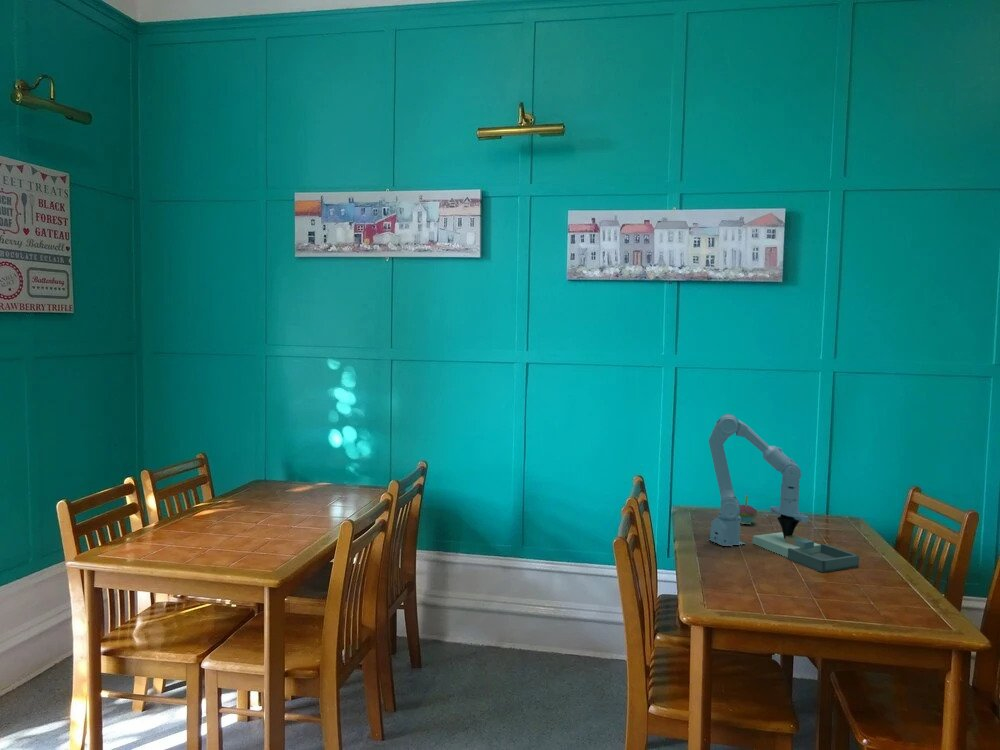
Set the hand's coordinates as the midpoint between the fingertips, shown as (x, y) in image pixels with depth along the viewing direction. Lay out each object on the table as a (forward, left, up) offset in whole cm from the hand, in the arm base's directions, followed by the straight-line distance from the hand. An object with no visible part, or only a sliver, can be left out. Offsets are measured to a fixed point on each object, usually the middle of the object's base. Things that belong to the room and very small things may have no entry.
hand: (787, 538), depth 237 cm
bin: (0, -15, -4) cm, 15 cm away
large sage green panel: (0, 0, -4) cm, 4 cm away
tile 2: (0, -7, -1) cm, 7 cm away
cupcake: (+10, +30, -4) cm, 32 cm away
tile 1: (0, -3, -1) cm, 3 cm away
